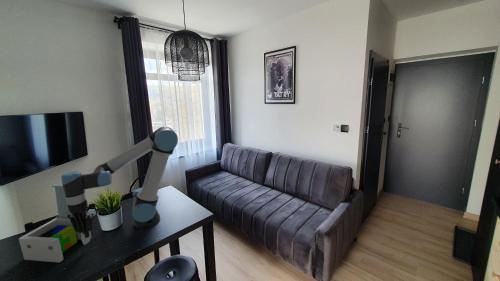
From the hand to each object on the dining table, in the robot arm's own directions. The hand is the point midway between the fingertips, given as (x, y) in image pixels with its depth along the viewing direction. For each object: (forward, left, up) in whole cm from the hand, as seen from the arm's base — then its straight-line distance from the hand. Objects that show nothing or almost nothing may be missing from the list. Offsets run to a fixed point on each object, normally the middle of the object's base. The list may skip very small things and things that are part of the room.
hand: (86, 242), depth 107 cm
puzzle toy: (+17, 0, -5) cm, 17 cm away
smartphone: (+31, -35, -5) cm, 47 cm away
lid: (+15, -8, +18) cm, 25 cm away
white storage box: (+15, 0, -4) cm, 16 cm away
